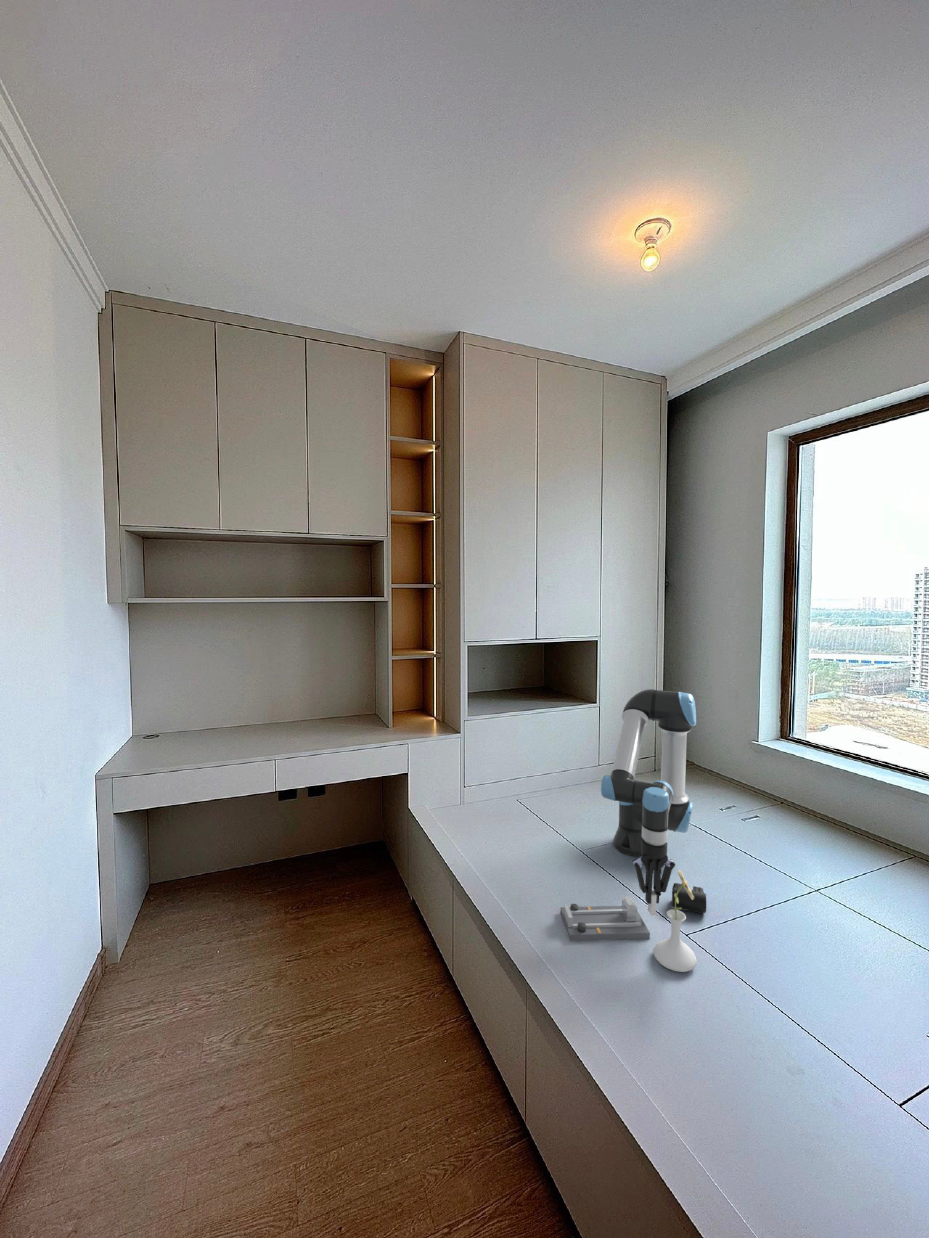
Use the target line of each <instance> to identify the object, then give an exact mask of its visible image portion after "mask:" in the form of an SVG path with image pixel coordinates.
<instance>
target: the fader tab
mask: <svg viewBox="0 0 929 1238" xmlns="http://www.w3.org/2000/svg"><path fill="white" fill-rule="evenodd" d="M621 906H622V915H623V917H624V919H625V921H626V923H627V922H637V911H638V907H637V906H636V904H635V902H634V901H633V898H632V896H624V897H623V898H622V899H621Z"/></svg>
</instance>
